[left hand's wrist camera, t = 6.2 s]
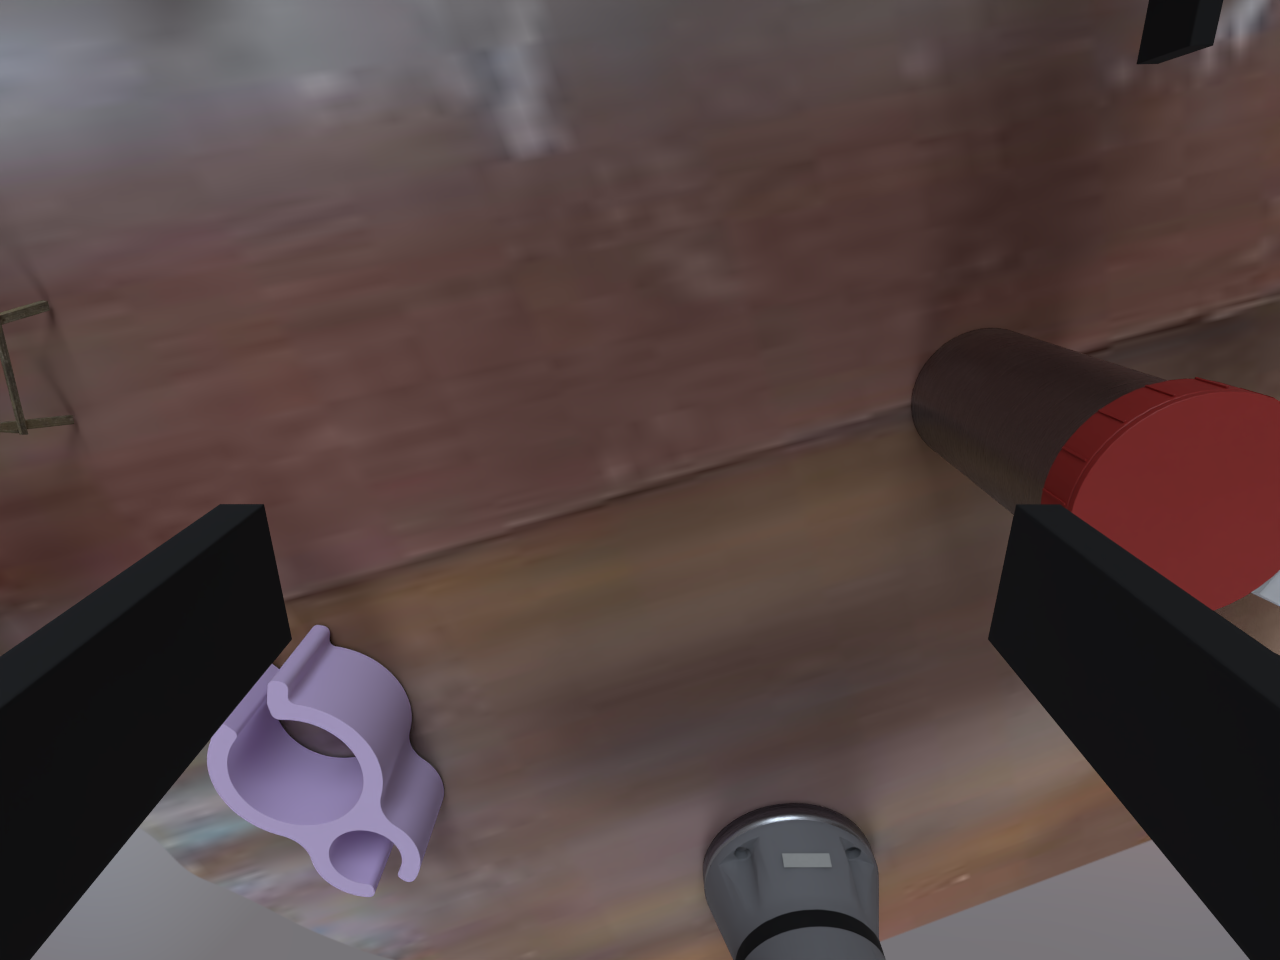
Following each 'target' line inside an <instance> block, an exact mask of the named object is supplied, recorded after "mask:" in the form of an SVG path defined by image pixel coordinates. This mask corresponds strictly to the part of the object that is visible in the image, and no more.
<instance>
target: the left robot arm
mask: <svg viewBox="0 0 1280 960" xmlns="http://www.w3.org/2000/svg"><path fill="white" fill-rule="evenodd" d="M291 640H292V637H291V633H290V628H289V623H288V618H287V613H286V609H285V604H284V599H283V594H282V589H281V584H280V580H279V575H278V570H277V565H276V560H275V555H274V551H273V546H272V541H271V536H270V531H269V527H268V522H267V517H266V512H265V507H264V504H220V505H218V506H217V507H216V508H214V509H213V510H211V511H210V512H208V513H207V514H205V515H204V516H203V517H201V518H200V519H198V520H197V521H195V522H194V523H192V524H191V525H190V526H188V527H187V528H185V529H184V530H182V531H181V532H179V533H178V534H177V535H175V536H174V537H172V538H171V539H169V540H168V541H166V542H165V543H164V544H162V545H161V546H159V547H158V548H156V549H155V550H153V551H152V552H151V553H149V554H148V555H146V556H145V557H143V558H142V559H141V560H139V561H138V562H136V563H135V564H133V565H132V566H130V567H129V568H128V569H126V570H125V571H123V572H122V573H120V574H119V575H117V576H116V577H115V578H113V579H112V580H110V581H109V582H107V583H106V584H104V585H103V586H102V587H100V588H99V589H97V590H96V591H94V592H93V593H91V594H90V595H89V596H87V597H86V598H84V599H83V600H81V601H80V602H78V603H77V604H76V605H74V606H73V607H71V608H70V609H68V610H67V611H66V612H64V613H63V614H61V615H60V616H58V617H57V618H55V619H54V620H53V621H51V622H50V623H48V624H47V625H45V626H44V627H42V628H41V629H40V630H38V631H37V632H35V633H34V634H32V635H31V636H29V637H28V638H27V639H25V640H24V641H22V642H21V643H19V644H18V645H16V646H15V647H14V648H12V649H11V650H9V651H8V652H6V653H5V654H3V655H2V656H1V657H0V960H30V959H31V958H32V957H33V955H34V954H35V953H36V952H37V950H38V949H39V948H40V947H41V946H42V944H43V943H44V942H45V941H46V940H47V938H48V937H49V936H50V935H51V933H52V932H53V931H54V930H55V929H56V927H57V926H58V925H59V924H60V922H61V921H62V920H63V919H64V917H65V916H66V915H67V914H68V913H69V911H70V910H71V909H72V908H73V906H74V905H75V904H76V903H77V902H78V900H79V899H80V898H81V897H82V895H83V894H84V893H85V892H86V891H87V889H88V888H89V887H90V886H91V884H92V883H93V882H94V881H95V880H96V878H97V877H98V876H99V875H100V873H101V872H102V871H103V870H104V868H105V867H106V866H107V865H108V864H109V862H110V861H111V860H112V859H113V858H114V856H115V855H116V854H117V853H118V851H119V850H120V849H121V848H122V847H123V845H124V844H125V843H126V842H127V840H128V839H129V838H130V837H131V835H132V834H133V833H134V832H135V831H136V829H137V828H138V827H139V826H140V824H141V823H142V822H143V821H144V820H145V818H146V817H147V816H148V815H149V813H150V812H151V811H152V810H153V809H154V807H155V806H156V805H157V804H158V802H159V801H160V800H161V799H162V798H163V796H164V795H165V794H166V793H167V791H168V790H169V789H170V788H171V787H172V785H173V784H174V783H175V782H176V780H177V779H178V778H179V777H180V776H181V774H182V773H183V772H184V771H185V769H186V768H187V767H188V766H189V765H190V763H191V762H192V761H193V760H194V758H195V757H196V756H197V755H198V754H199V752H200V751H201V750H202V749H203V747H204V746H205V745H206V744H207V742H208V741H209V740H210V739H211V738H212V736H213V735H214V734H215V733H216V731H217V730H218V729H219V728H220V727H221V725H222V724H223V723H224V722H225V720H226V719H227V718H228V717H229V716H230V714H231V713H232V712H233V711H234V709H235V708H236V707H237V706H238V705H239V703H240V702H241V701H242V700H243V698H244V697H245V696H246V695H247V694H248V692H249V691H250V690H251V689H252V687H253V686H254V685H255V684H256V683H257V681H258V680H259V679H260V678H261V676H262V675H263V674H264V673H265V672H266V670H267V669H268V668H269V667H270V665H271V664H272V663H273V662H274V660H275V659H276V658H277V657H278V656H279V654H280V653H281V652H282V651H283V649H284V648H285V647H286V646H287V645H288V643H289V642H290V641H291ZM988 640H989V641H990V642H991V643H992V645H993V646H994V647H995V648H996V649H997V651H998V652H999V653H1000V654H1001V656H1002V657H1003V658H1004V659H1005V660H1006V662H1007V663H1008V664H1009V665H1010V667H1011V668H1012V669H1013V670H1014V672H1015V673H1016V674H1017V675H1018V676H1019V678H1020V679H1021V680H1022V681H1023V683H1024V684H1025V685H1026V686H1027V687H1028V689H1029V690H1030V691H1031V692H1032V694H1033V695H1034V696H1035V697H1036V698H1037V700H1038V701H1039V702H1040V703H1041V705H1042V706H1043V707H1044V708H1045V709H1046V711H1047V712H1048V713H1049V714H1050V716H1051V717H1052V718H1053V719H1054V720H1055V722H1056V723H1057V724H1058V725H1059V727H1060V728H1061V729H1062V730H1063V731H1064V733H1065V734H1066V735H1067V736H1068V738H1069V739H1070V740H1071V741H1072V742H1073V744H1074V745H1075V746H1076V747H1077V749H1078V750H1079V751H1080V752H1081V754H1082V755H1083V756H1084V757H1085V758H1086V760H1087V761H1088V762H1089V763H1090V765H1091V766H1092V767H1093V768H1094V769H1095V771H1096V772H1097V773H1098V774H1099V776H1100V777H1101V778H1102V779H1103V780H1104V782H1105V783H1106V784H1107V785H1108V787H1109V788H1110V789H1111V790H1112V791H1113V793H1114V794H1115V795H1116V796H1117V798H1118V799H1119V800H1120V801H1121V802H1122V804H1123V805H1124V806H1125V807H1126V809H1127V810H1128V811H1129V812H1130V813H1131V815H1132V816H1133V817H1134V818H1135V820H1136V821H1137V822H1138V823H1139V824H1140V826H1141V827H1142V828H1143V829H1144V831H1145V832H1146V833H1147V834H1148V836H1149V837H1150V838H1151V839H1152V840H1153V842H1154V843H1155V844H1156V845H1157V846H1158V848H1159V849H1160V850H1161V851H1162V853H1163V854H1164V855H1165V856H1166V858H1167V859H1168V860H1169V861H1170V862H1171V864H1172V865H1173V866H1174V867H1175V869H1176V870H1177V871H1178V872H1179V873H1180V875H1181V876H1182V877H1183V878H1184V880H1185V881H1186V882H1187V883H1188V884H1189V886H1190V887H1191V888H1192V889H1193V891H1194V892H1195V893H1196V894H1197V895H1198V897H1199V898H1200V899H1201V900H1202V902H1203V903H1204V904H1205V905H1206V906H1207V908H1208V909H1209V910H1210V911H1211V913H1212V914H1213V915H1214V916H1215V917H1216V919H1217V920H1218V921H1219V922H1220V924H1221V925H1222V926H1223V927H1224V928H1225V930H1226V931H1227V932H1228V933H1229V935H1230V936H1231V937H1232V938H1233V939H1234V941H1235V942H1236V943H1237V944H1238V946H1239V947H1240V948H1241V949H1242V951H1243V952H1244V953H1245V954H1246V955H1247V957H1248V958H1249V959H1250V960H1280V655H1278V654H1276V653H1274V652H1272V651H1271V650H1269V649H1268V648H1266V647H1265V646H1264V645H1262V644H1261V643H1259V642H1258V641H1256V640H1255V639H1253V638H1252V637H1251V636H1249V635H1248V634H1246V633H1245V632H1243V631H1242V630H1240V629H1239V628H1238V627H1236V626H1235V625H1233V624H1232V623H1230V622H1229V621H1227V620H1226V619H1225V618H1223V617H1222V616H1220V615H1219V614H1217V613H1216V612H1214V611H1213V610H1212V609H1210V608H1209V607H1207V606H1206V605H1204V604H1203V603H1202V602H1200V601H1199V600H1197V599H1196V598H1194V597H1193V596H1191V595H1190V594H1189V593H1187V592H1186V591H1184V590H1183V589H1181V588H1180V587H1178V586H1177V585H1176V584H1174V583H1173V582H1171V581H1170V580H1168V579H1167V578H1165V577H1164V576H1163V575H1161V574H1160V573H1158V572H1157V571H1155V570H1154V569H1152V568H1151V567H1150V566H1148V565H1147V564H1145V563H1144V562H1142V561H1141V560H1139V559H1138V558H1137V557H1135V556H1134V555H1132V554H1131V553H1129V552H1128V551H1127V550H1125V549H1124V548H1122V547H1121V546H1119V545H1118V544H1116V543H1115V542H1114V541H1112V540H1111V539H1109V538H1108V537H1106V536H1105V535H1103V534H1102V533H1101V532H1099V531H1098V530H1096V529H1095V528H1093V527H1092V526H1090V525H1089V524H1088V523H1086V522H1085V521H1083V520H1082V519H1080V518H1079V517H1077V516H1076V515H1075V514H1073V513H1072V512H1070V511H1069V510H1067V509H1066V508H1064V507H1063V506H1062V505H1060V504H1016V507H1015V512H1014V517H1013V522H1012V527H1011V531H1010V536H1009V541H1008V546H1007V551H1006V555H1005V560H1004V565H1003V570H1002V575H1001V580H1000V584H999V589H998V594H997V599H996V604H995V609H994V613H993V618H992V623H991V628H990V633H989V637H988ZM703 878H704V889H705V896H706V900H707V903H708V906H709V908H710V910H711V913H712V915H713V917H714V919H715V921H716V923H717V925H718V928H719V930H720V932H721V934H722V936H723V938H724V941H725V943H726V945H727V947H728V949H729V951H730V954H731V956H732V958H733V960H885V956H884V953H883V950H882V947H881V944H880V941H879V876H878V868H877V864H876V861H875V858H874V855H873V853H872V850H871V847H870V844H869V842H868V840H867V838H866V837H865V835H864V834H863V832H862V831H861V830H860V829H859V827H857V826H856V825H855V824H854V823H853V822H852V821H851V820H849V819H848V818H846V817H845V816H843V815H841V814H839V813H837V812H835V811H833V810H830V809H827V808H824V807H820V806H816V805H810V804H799V803H790V804H778V805H772V806H767V807H764V808H760V809H757V810H754V811H752V812H749V813H747V814H745V815H743V816H741V817H739V818H737V819H736V820H734V821H733V822H731V823H730V824H729V825H727V826H726V827H725V828H724V829H723V830H722V831H721V832H720V833H719V834H718V835H717V836H716V837H715V838H714V840H713V841H712V843H711V844H710V846H709V848H708V850H707V853H706V855H705V859H704V864H703Z"/></svg>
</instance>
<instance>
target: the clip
mask: <svg viewBox="0 0 1280 960" xmlns="http://www.w3.org/2000/svg"><path fill="white" fill-rule="evenodd" d="M279 720H295V721H301V722H306V723H309V724H312V725H315V726H318V727H320V728H323V729H325V730H327V731H328V732H330V733H332V734H333V735H335V736H336V737H338V738H339V739H340V740H342V741H343V742H344V743H345V744H346V745H347V746H348V747H349V748H350V749H351V751H352V752H353V753H354V755H355V756H356V757H350V758H337V757H330V756H325V755H321V754H318V753H316V752H313V751H311V750H309V749H307V748H305V747H303V746H302V745H300V744H299V743H297V742H296V741H295V740H294V739H293V738H291V737H290V736H289V735H288V733H287V732H286V731H285V730H284V728H283V727H282V726H281V724H280V722H279ZM411 723H412V712H411V706H410V702H409V699H408V697H407V695H406V692H405V691H404V689H403V687H402V686H401V684H400V683H399V681H398V680H397V679H396V678H395V677H394V676H393V674H392V673H391V672H389V671H388V670H387V669H386V668H385V667H384V666H382V665H381V664H380V663H378V662H377V661H375V660H373V659H372V658H370V657H368V656H366V655H364V654H361V653H359V652H356V651H353V650H350V649H346V648H342V647H336V646H334V645H332V644H331V643H330V630H329V629H328V628H327V627H326V626H322V625H315V626H314V627H313V628H312V629H311V630H310V631H309V633H308V634H307V635H306V636H305V638H304V639H303V640H302V642H301V643H300V644H299V645H298V647H297V648H296V649H295V650H294V652H293V653H292V654H291V655H290V657H289V658H288V659H287V661H286V662H285V663H284V664H283V666H282V667H281V668H280V669H278V668H277V667H276V666H274V665H273V664H271V665H270V667H269V668H268V669H267V670H266V672H265V673H264V674H263V675H262V676H261V678H260V679H259V680H258V681H257V683H256V684H255V685H254V686H253V687H252V689H251V690H250V691H249V692H248V694H247V695H246V696H245V697H244V698H243V700H242V701H241V702H240V703H239V705H238V706H237V707H236V708H235V709H234V711H233V712H232V713H231V714H230V716H229V717H228V718H227V719H226V720H225V722H224V723H223V724H222V725H221V727H220V728H219V729H218V730H217V731H216V733H215V734H214V735H213V736H212V738H211V742H210V745H209V749H208V754H207V765H208V771H209V775H210V778H211V781H212V783H213V785H214V787H215V789H216V791H217V792H218V794H219V795H220V797H221V798H222V799H223V801H224V802H225V803H226V804H227V805H228V806H229V807H230V808H231V809H232V810H233V811H234V812H235V813H237V814H238V815H239V816H241V817H242V818H243V819H245V820H246V821H248V822H250V823H251V824H253V825H255V826H257V827H259V828H261V829H263V830H266V831H268V832H271V833H274V834H277V835H281V836H284V837H287V838H290V839H292V840H294V841H296V842H297V843H299V844H300V845H301V846H303V847H304V848H305V849H306V851H307V852H308V853H309V855H310V857H311V860H312V862H313V865H314V867H315V869H316V870H317V872H318V873H319V874H320V875H321V876H322V877H323V878H324V879H325V880H326V881H327V882H328V883H330V884H331V885H333V886H334V887H336V888H338V889H340V890H342V891H344V892H347V893H350V894H353V895H357V896H363V897H371V896H373V895H374V893H375V891H376V888H377V886H378V883H379V881H380V878H381V875H382V873H383V870H384V868H385V865H386V863H387V860H388V858H389V855H390V852H391V850H392V847H393V845H394V844H395V845H396V846H397V848H398V849H399V851H400V853H401V856H402V864H401V867H400V869H399V872H398V876H399V877H400V878H401V879H402V880H404V881H407V882H411V881H414V880H415V878H416V877H417V875H418V872H419V869H420V866H421V863H422V861H423V858H424V855H425V852H426V849H427V846H428V843H429V840H430V837H431V834H432V831H433V828H434V825H435V822H436V819H437V816H438V813H439V810H440V807H441V804H442V801H443V797H444V786H443V783H442V780H441V778H440V776H439V774H438V773H437V771H436V770H435V769H434V768H433V767H432V766H431V765H430V764H429V763H428V762H427V761H425V760H424V759H422V758H421V757H420V756H419V755H418V754H417V753H416V752H415V751H414V750H413V748H412V746H411V744H410V739H409V734H410V729H411Z"/></svg>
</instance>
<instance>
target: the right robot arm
mask: <svg viewBox="0 0 1280 960" xmlns="http://www.w3.org/2000/svg"><path fill="white" fill-rule="evenodd" d="M1222 3H1223V0H1149V4H1148V9H1147V14H1146V19H1145V24H1144V29H1143V35H1142V40H1141V45H1140V50H1139V55H1138V60H1137V64H1159V63H1162V62H1165V61H1168V60H1170V59H1173V58H1176V57H1179V56H1182V55H1185V54H1188V53H1191V52H1194V51H1197V50H1200V49H1203V48H1206V47H1209V46H1212V45H1213V43H1214V39H1215V34H1216V30H1217V26H1218V21H1219V17H1220V12H1221V8H1222Z"/></svg>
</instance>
